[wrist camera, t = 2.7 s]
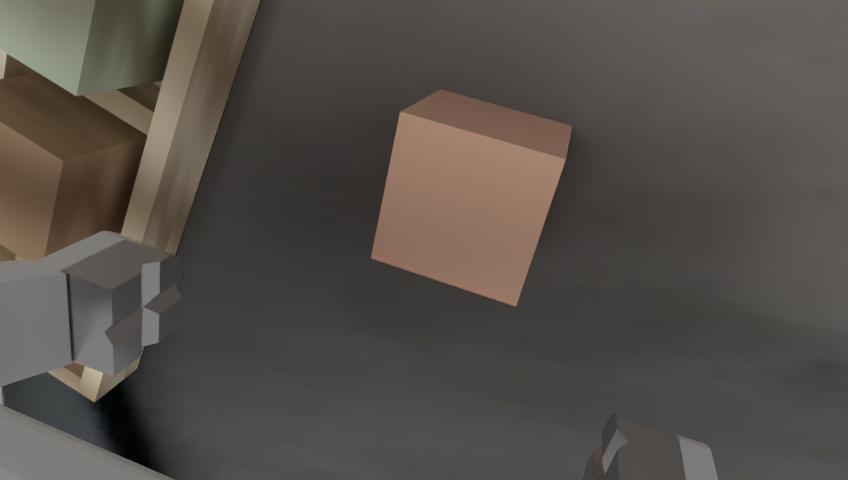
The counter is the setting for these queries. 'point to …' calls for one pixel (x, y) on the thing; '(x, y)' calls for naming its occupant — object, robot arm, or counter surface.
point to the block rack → (109, 123)
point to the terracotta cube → (469, 192)
